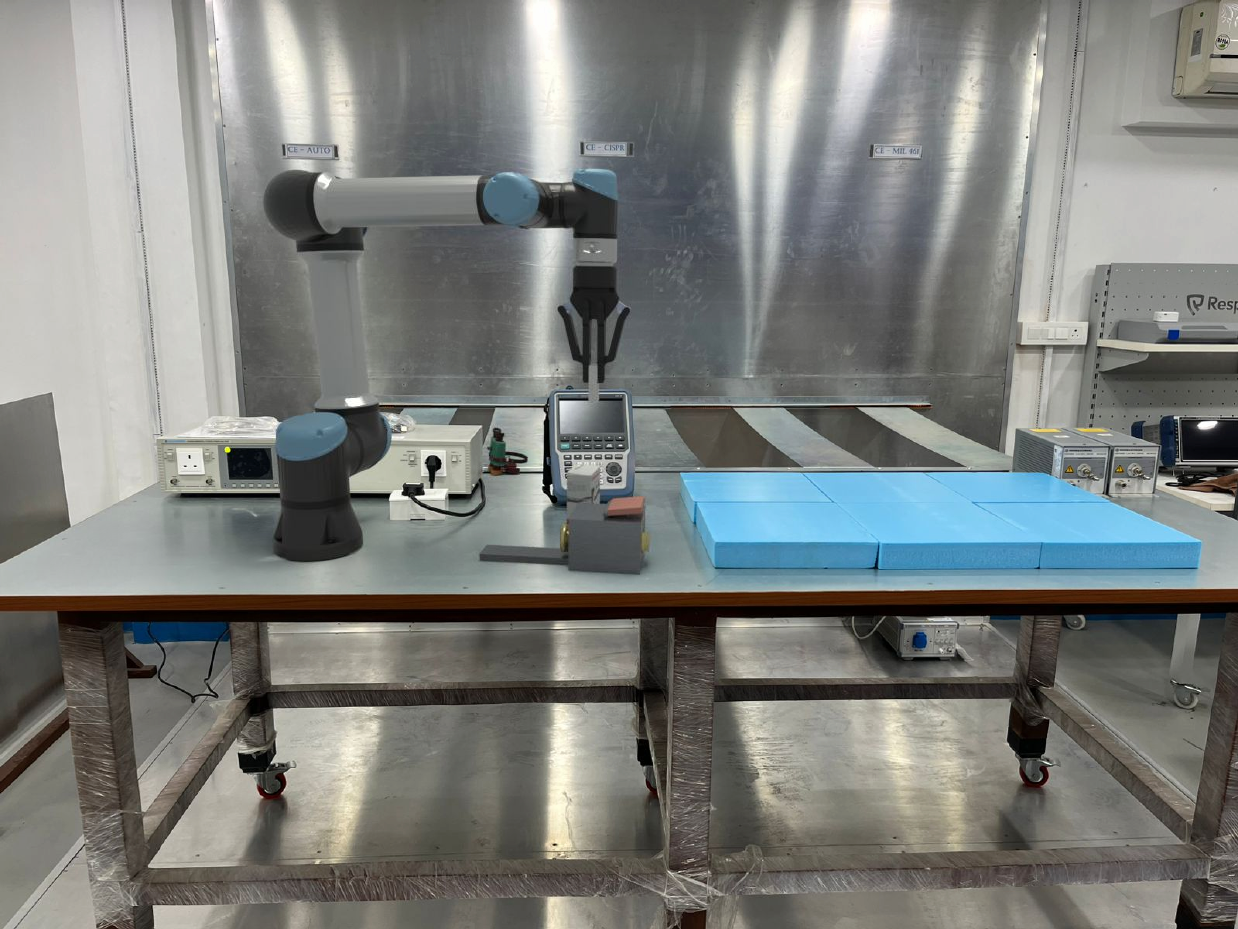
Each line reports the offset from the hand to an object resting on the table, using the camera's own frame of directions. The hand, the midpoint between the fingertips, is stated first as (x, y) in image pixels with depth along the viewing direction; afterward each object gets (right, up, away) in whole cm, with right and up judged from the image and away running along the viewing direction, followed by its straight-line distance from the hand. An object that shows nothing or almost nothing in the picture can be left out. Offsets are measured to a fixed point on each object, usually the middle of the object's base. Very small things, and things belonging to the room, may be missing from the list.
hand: (593, 401), depth 150 cm
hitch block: (-5, -28, -3) cm, 29 cm away
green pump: (-23, -13, +58) cm, 64 cm away
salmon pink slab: (+3, -19, -6) cm, 20 cm away
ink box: (-2, -24, +15) cm, 28 cm away
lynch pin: (+2, -27, -4) cm, 27 cm away
